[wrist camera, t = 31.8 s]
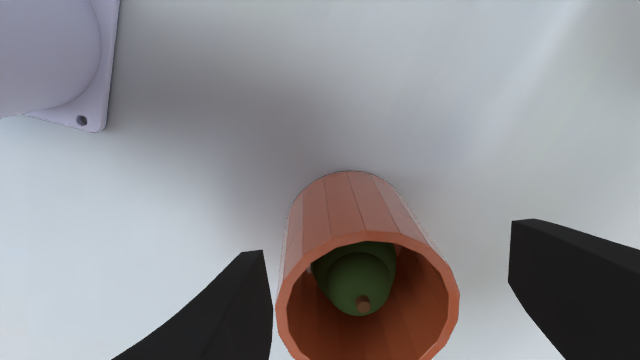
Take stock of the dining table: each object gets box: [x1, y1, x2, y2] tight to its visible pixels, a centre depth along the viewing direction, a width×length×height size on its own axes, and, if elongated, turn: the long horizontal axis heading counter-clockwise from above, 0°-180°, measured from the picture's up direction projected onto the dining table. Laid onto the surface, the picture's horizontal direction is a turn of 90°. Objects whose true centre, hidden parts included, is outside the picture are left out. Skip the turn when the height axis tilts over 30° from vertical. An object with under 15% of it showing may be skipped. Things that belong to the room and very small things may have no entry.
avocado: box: [310, 241, 396, 316], centre depth 18 cm, size 4×4×6 cm
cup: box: [275, 171, 460, 360], centre depth 18 cm, size 7×7×8 cm
